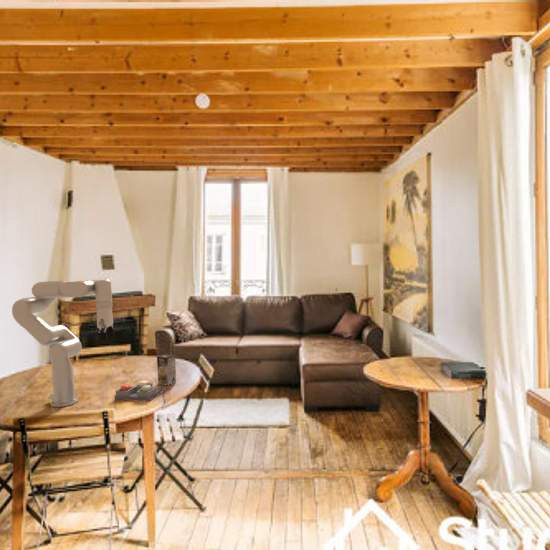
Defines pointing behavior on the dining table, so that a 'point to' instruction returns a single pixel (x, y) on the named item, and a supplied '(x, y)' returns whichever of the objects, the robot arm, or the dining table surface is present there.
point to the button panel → (138, 393)
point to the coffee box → (166, 369)
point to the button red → (125, 387)
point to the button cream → (143, 383)
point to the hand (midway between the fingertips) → (107, 338)
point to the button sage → (146, 388)
